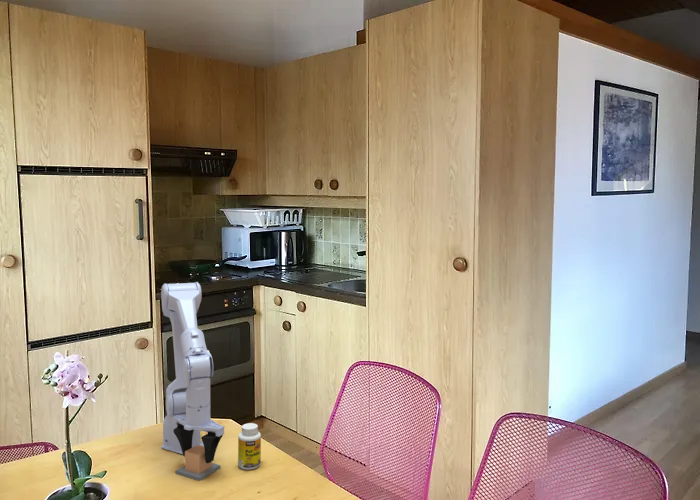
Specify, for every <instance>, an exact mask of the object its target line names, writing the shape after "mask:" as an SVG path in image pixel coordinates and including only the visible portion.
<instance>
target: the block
mask: <svg viewBox="0 0 700 500" xmlns="http://www.w3.org/2000/svg"><path fill="white" fill-rule="evenodd" d="M212 463H213V461H212V462H210V463H206V461H205V449H204V446H201V445H196V446H194V447H193V448H191V449H189V450H187V451H185V456H184V466H185V470H189V471H192V472H195V473H198V474H200V473H201V472H203V471H205V470H206V469H208V468H210V467H212Z"/></svg>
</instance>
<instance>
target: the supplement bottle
mask: <svg viewBox="0 0 700 500" xmlns="http://www.w3.org/2000/svg"><path fill="white" fill-rule="evenodd" d="M240 431H241V432H239V434H238V436H237V437H238V438H237V439H238V443H237V444H238V445H237V446H238V449H237V450H238V451H237V453H238V454H237V455H238V456H237V458H238V459H237V465H238V467H239V468H240V469H242V470H249V471H250V470H251V471H252V470H255V469H257V468H258V467H260V465H261V458H262V457H261V455H262V447H261V445H262V434H261V432H260V431H259V426H258V424H256V423H254V422H248V423H245V424H243V425H242V426H241V430H240Z"/></svg>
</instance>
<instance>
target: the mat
mask: <svg viewBox="0 0 700 500" xmlns="http://www.w3.org/2000/svg"><path fill="white" fill-rule="evenodd" d="M221 467H222V466H221V464H219V463H214V462H212V467H210V468H208V469H206V470H205V471H203V472H201V473H200V474H198V473H195V472H192V471H189V470H185V465H182V466H181V467H179V468H177V469H176V470H175V474H176V475H178V476H183V477H185V478H189V479H191V480H194V481H195V480H196V481H199V482H201V481H202V480H203V479H205V478H207V477H209V476H210V475H211V474H214V473H215V472H217V471H219V470H221Z"/></svg>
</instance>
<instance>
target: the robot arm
mask: <svg viewBox="0 0 700 500" xmlns="http://www.w3.org/2000/svg"><path fill="white" fill-rule="evenodd" d="M160 294H161V309H162V311H161V312H162V313H163V316H164V317H166V318H169V320H170V324H171V328H172V330H171V331H172V342H173V354H174V355H173V358H174V370H175V379H174V380H173V381H172V382H171V383H169V384H168V386H167V387H166V390H165V410H166V415H165V417H164V420H163V423H162V440H163V441H162V445H161V446H160V448H161V449H162V450H167V451H170V452H173V453H177V454H180V455H182V456H183V457H185V451H187V450H189V449H191V448H193V447H194V446H196V445H201V446H204V449H205V461H206V463H210V462H212V463H213V461H214V459H215V456H216V452H217V449H218V446H219V443H220V441H221V440H222V437H223V436H224V435H225V426H224V425H221V424H219V423H218V422H216V421H215V420H212V419H211V378H213V376H214V361H213V356H212V354H211V353H210V350H208V348H207V345H206V341H205V335H204V332H203V331H202V330H201V329H199V328H198V320H197V314H198V311H199V308H200V304H201V302H202V286H201V284H200V283H199V281H195V282H187V283H183V282H181V283H163V285H162V286H161V292H160ZM201 432H205V433H206V434H205V435H201Z"/></svg>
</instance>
